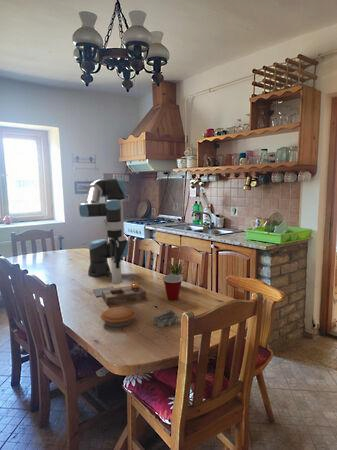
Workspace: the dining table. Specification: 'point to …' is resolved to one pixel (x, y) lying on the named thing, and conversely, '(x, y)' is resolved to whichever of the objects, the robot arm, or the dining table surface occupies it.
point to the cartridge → (115, 277)
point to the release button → (135, 286)
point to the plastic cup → (172, 286)
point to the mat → (100, 291)
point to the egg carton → (166, 319)
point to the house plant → (176, 269)
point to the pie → (118, 316)
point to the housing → (123, 295)
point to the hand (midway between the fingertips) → (116, 272)
